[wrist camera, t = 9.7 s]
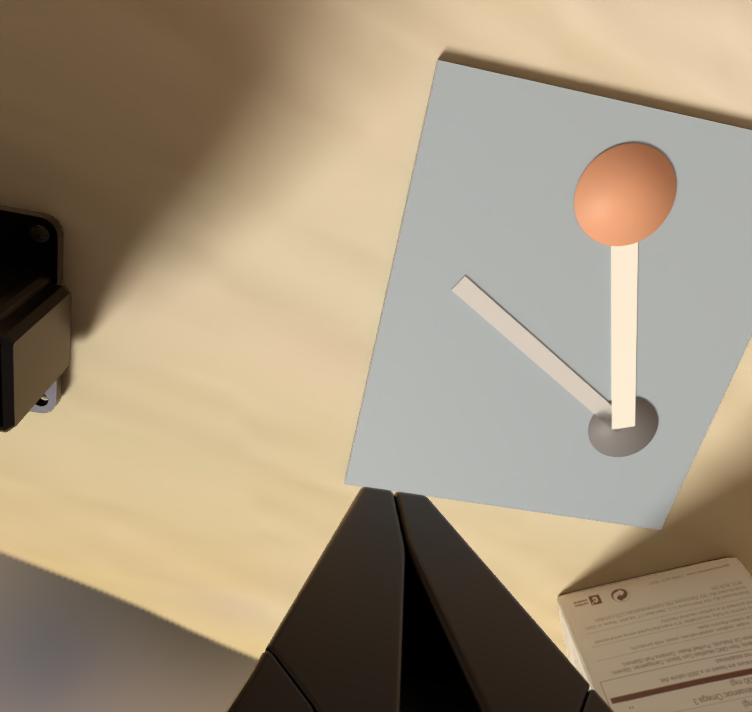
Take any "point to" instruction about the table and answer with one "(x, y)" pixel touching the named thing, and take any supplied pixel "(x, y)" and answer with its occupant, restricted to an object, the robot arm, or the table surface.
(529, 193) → the card
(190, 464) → the table surface
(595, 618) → the supplement box
